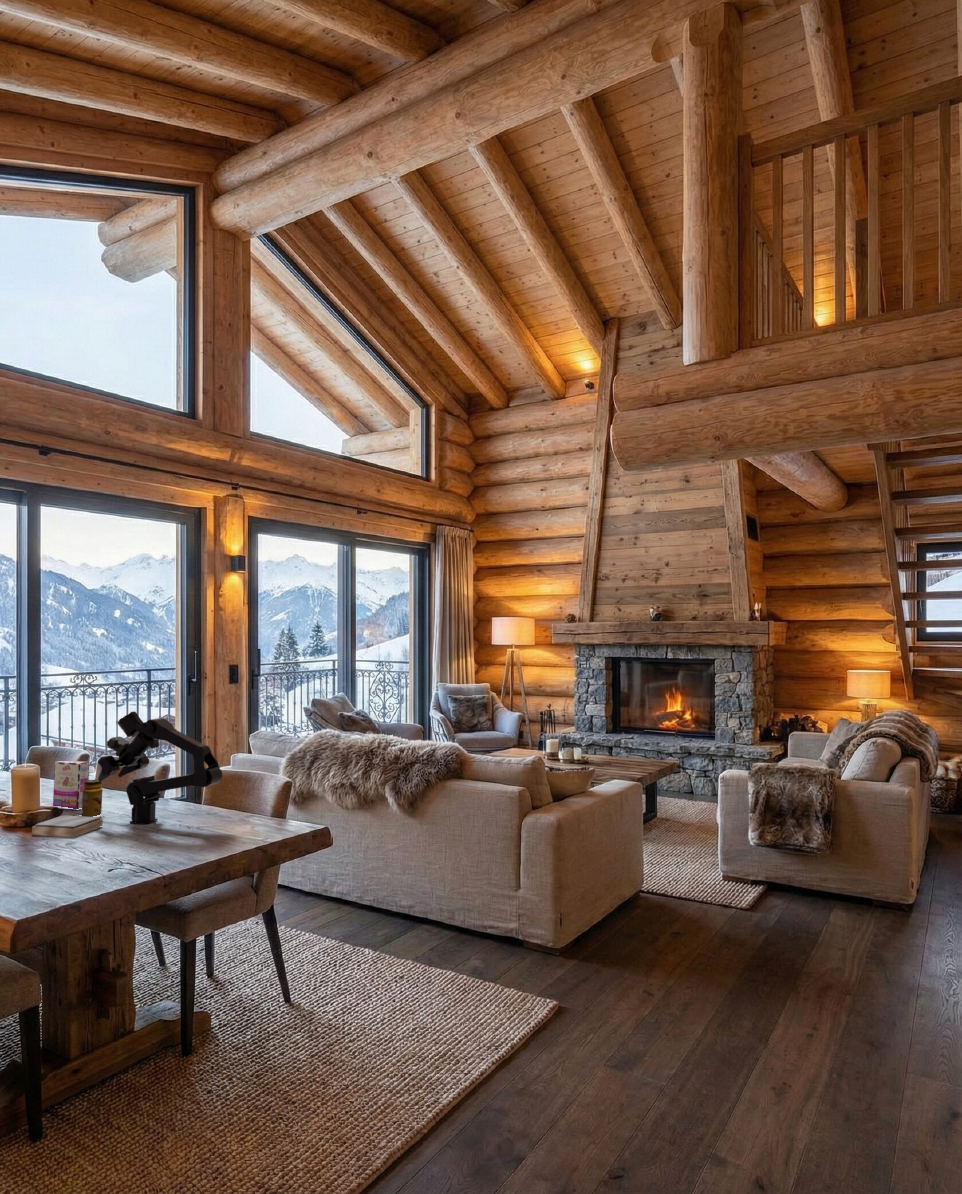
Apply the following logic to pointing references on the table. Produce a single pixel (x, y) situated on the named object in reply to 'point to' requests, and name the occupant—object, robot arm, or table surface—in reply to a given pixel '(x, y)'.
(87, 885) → the table surface
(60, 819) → the birch base
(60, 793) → the candy bar box
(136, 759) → the robot arm
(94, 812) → the condiment
